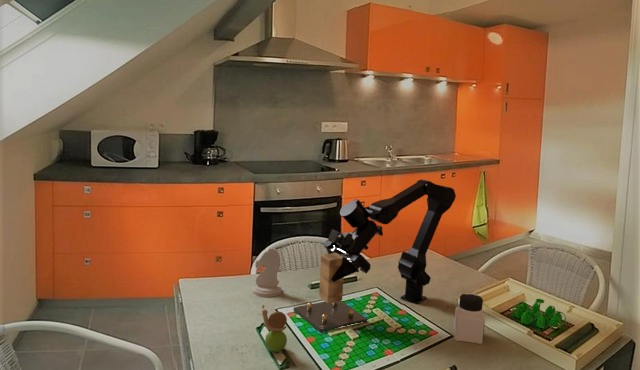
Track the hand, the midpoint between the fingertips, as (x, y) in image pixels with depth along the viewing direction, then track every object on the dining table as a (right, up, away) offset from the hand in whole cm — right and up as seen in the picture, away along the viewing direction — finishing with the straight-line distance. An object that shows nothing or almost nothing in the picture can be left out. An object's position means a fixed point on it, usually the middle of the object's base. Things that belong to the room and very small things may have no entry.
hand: (327, 277), depth 141 cm
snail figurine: (-14, -15, -19) cm, 28 cm away
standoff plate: (+1, -12, +3) cm, 12 cm away
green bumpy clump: (+64, -15, +5) cm, 66 cm away
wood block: (+1, -6, +2) cm, 7 cm away
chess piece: (-20, -9, +20) cm, 29 cm away
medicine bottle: (+39, -15, -7) cm, 42 cm away
